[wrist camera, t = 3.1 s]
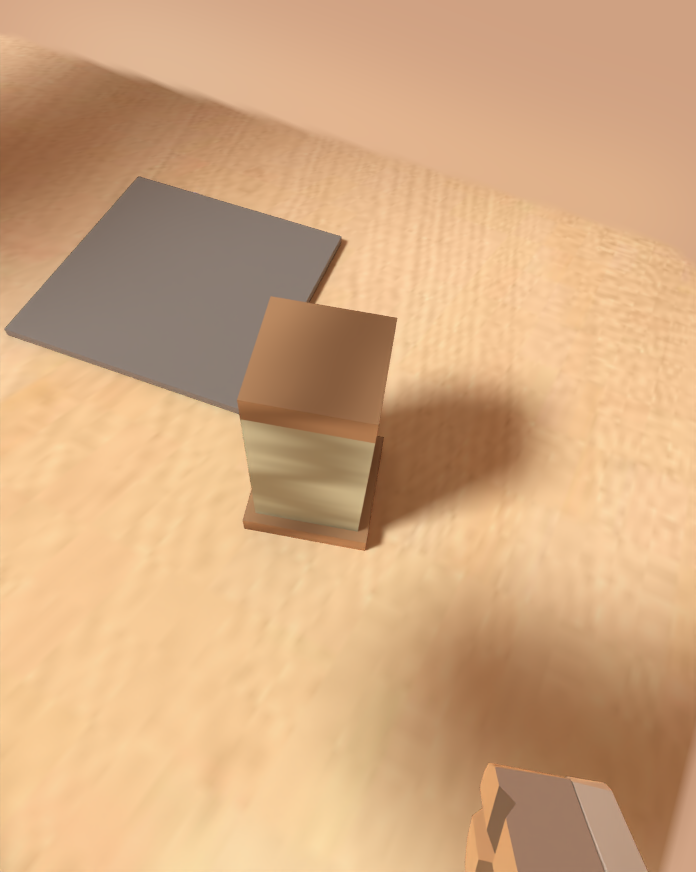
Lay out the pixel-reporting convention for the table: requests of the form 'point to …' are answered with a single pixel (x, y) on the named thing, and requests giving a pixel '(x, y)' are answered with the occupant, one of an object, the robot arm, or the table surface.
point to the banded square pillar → (315, 420)
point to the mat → (175, 289)
